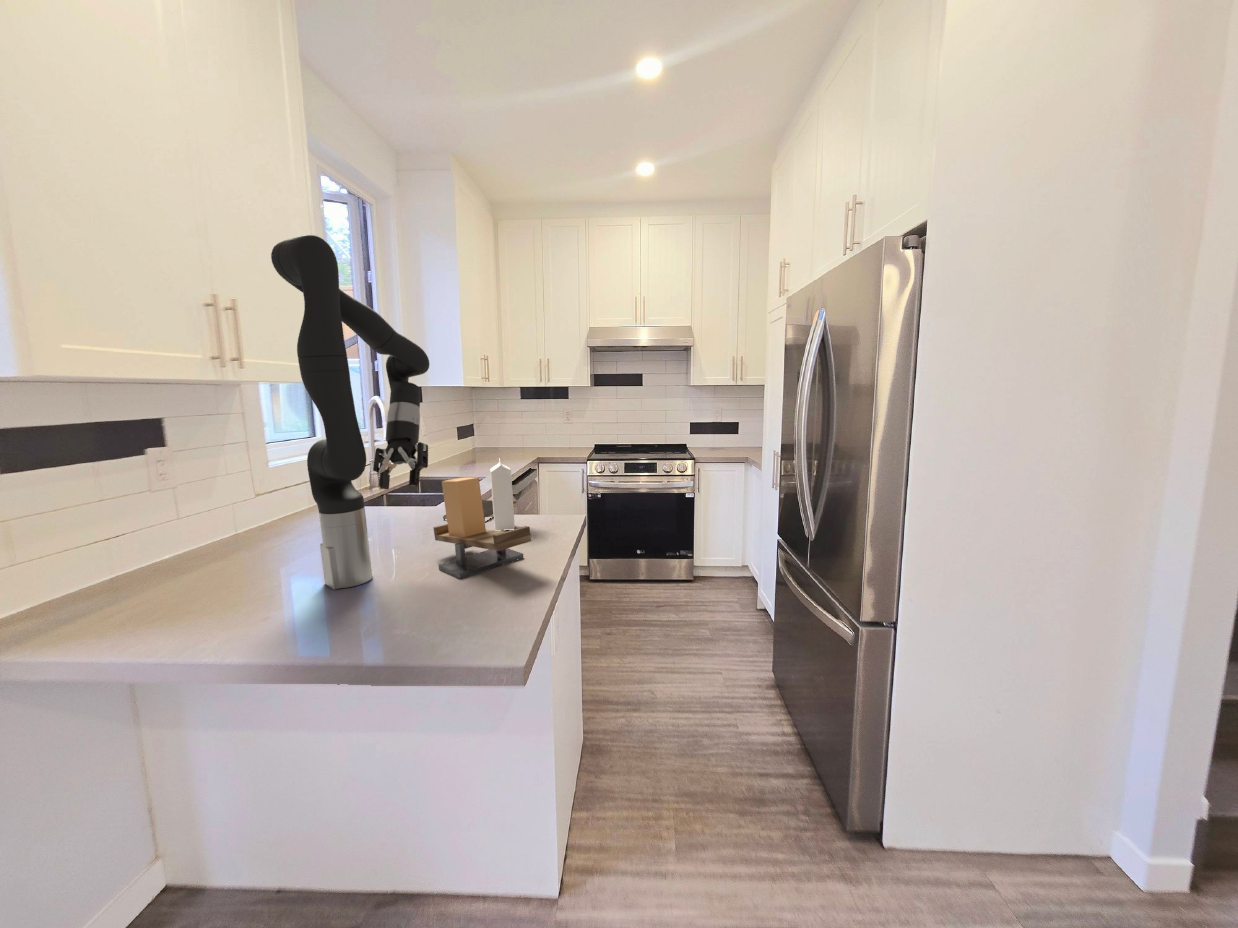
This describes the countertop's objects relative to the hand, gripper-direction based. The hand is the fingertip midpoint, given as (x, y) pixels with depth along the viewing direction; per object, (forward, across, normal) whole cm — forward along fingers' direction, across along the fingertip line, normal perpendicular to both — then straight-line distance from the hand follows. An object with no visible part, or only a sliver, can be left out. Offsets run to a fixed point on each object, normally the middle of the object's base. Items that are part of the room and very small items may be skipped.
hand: (398, 487), depth 120 cm
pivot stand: (+18, +15, +14) cm, 27 cm away
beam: (+13, +15, +12) cm, 23 cm away
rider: (+10, +10, +14) cm, 20 cm away
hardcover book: (-1, -14, +57) cm, 59 cm away
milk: (+6, +5, +42) cm, 42 cm away
